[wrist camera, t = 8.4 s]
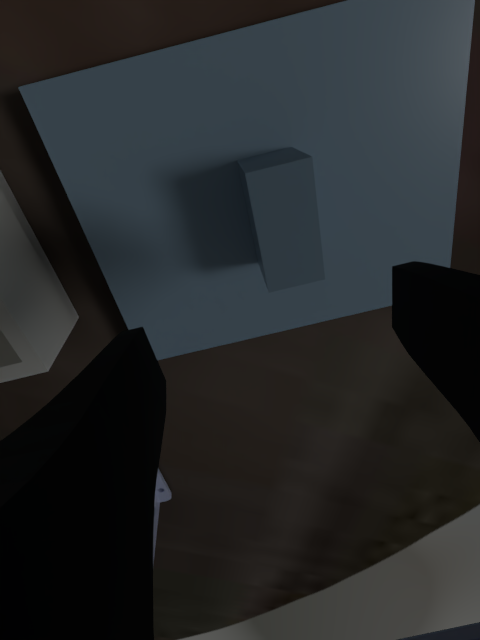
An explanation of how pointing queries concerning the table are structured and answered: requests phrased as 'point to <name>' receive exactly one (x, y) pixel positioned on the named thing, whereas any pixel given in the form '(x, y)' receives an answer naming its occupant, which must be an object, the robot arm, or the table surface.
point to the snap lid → (266, 167)
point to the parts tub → (28, 297)
